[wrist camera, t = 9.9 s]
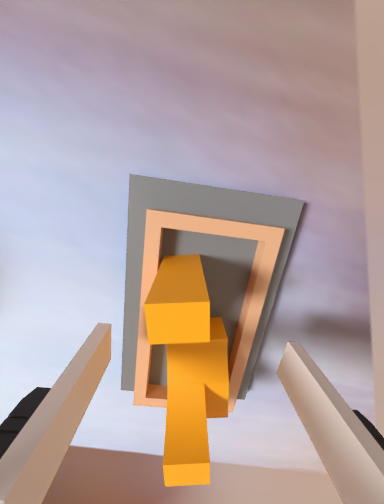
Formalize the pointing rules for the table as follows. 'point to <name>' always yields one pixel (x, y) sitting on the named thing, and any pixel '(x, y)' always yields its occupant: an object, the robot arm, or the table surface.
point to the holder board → (204, 271)
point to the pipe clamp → (188, 365)
